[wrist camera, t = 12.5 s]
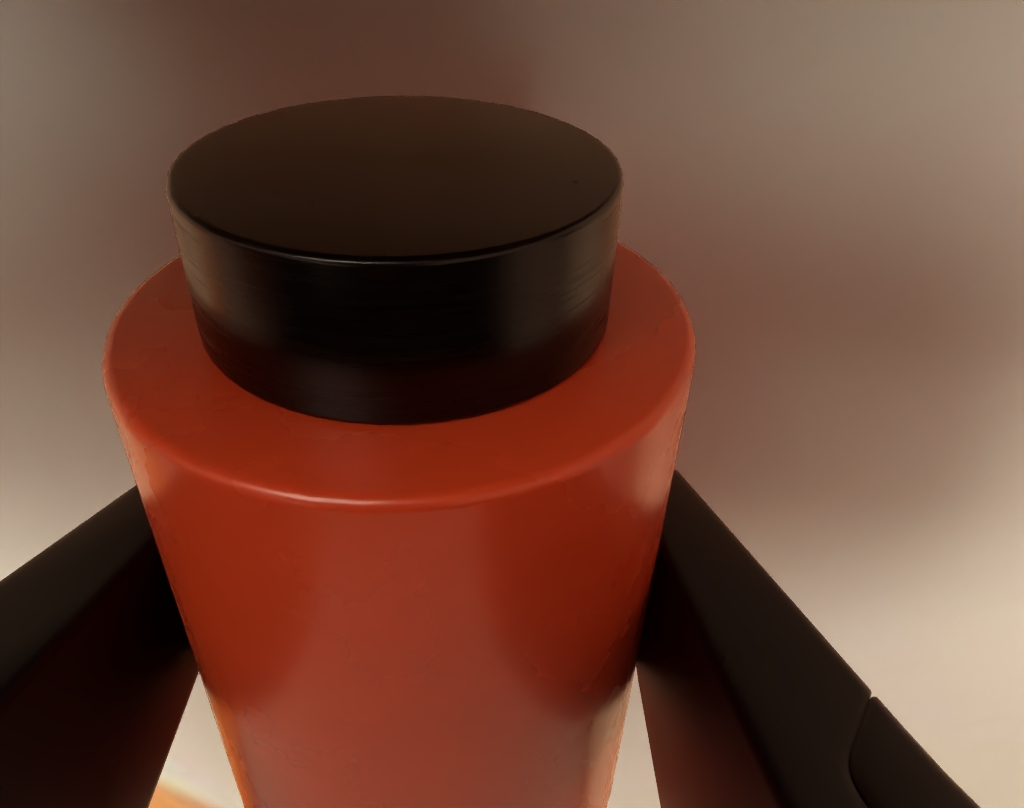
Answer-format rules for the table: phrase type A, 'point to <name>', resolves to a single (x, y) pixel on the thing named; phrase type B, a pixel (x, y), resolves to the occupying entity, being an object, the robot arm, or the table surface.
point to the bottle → (406, 449)
